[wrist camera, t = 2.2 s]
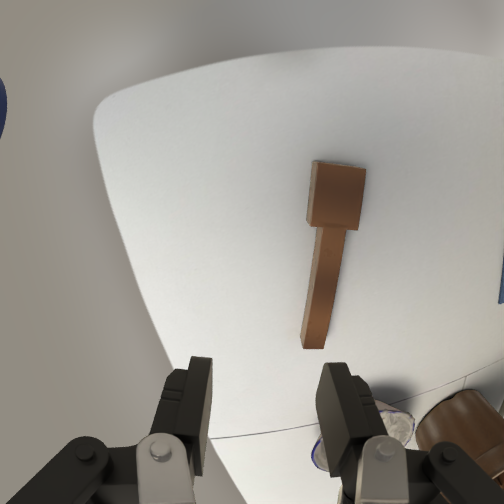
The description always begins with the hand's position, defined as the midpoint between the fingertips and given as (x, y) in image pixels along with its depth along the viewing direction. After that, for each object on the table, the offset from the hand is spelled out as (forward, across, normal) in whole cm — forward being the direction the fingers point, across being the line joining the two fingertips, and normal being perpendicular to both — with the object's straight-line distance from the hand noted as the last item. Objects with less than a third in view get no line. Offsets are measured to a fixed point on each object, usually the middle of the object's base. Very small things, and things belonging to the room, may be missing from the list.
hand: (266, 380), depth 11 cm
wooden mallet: (+17, -6, +1) cm, 18 cm away
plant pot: (+17, -31, +26) cm, 44 cm away
